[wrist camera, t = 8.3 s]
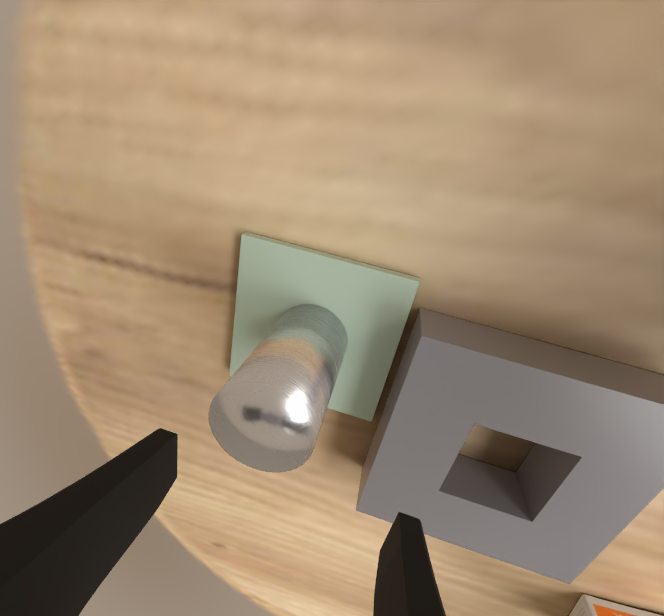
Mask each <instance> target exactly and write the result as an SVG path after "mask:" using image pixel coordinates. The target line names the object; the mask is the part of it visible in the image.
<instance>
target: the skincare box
mask: <svg viewBox="0 0 664 616" xmlns="http://www.w3.org/2000/svg"><path fill="white" fill-rule="evenodd" d="M569 616H662V615H659V614H655V613H651V612H647V611H643V610H639V609H635V608H632V607H628V606H624V605H621V604H617V603H613V602H610V601H606V600H602V599H599V598H595V597H592V596H590V595H585V594H582V595H581V597H580V599H579V600H578V602H577V604H576V605H575V607H574V608H573V610H572V612H571V613H570V615H569Z"/></svg>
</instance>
